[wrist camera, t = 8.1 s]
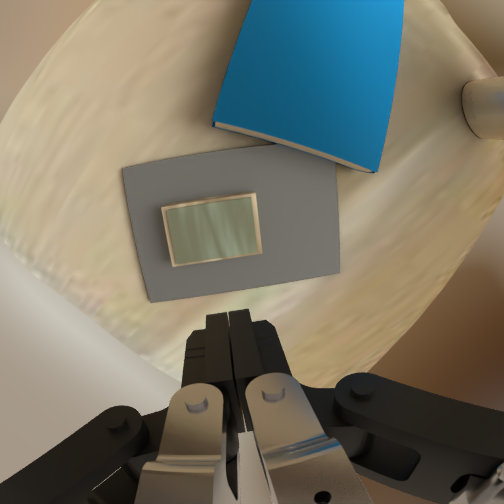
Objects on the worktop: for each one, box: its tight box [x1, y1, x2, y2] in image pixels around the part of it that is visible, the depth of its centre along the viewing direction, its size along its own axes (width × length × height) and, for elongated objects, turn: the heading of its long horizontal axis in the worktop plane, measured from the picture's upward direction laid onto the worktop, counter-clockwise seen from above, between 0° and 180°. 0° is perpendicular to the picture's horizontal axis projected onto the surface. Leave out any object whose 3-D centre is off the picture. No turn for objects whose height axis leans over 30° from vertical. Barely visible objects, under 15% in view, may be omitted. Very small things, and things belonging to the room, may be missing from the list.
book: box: [212, 0, 404, 173], centre depth 24 cm, size 17×4×25 cm
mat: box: [122, 144, 340, 303], centre depth 30 cm, size 22×15×1 cm
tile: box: [161, 191, 262, 267], centre depth 29 cm, size 2×6×9 cm
